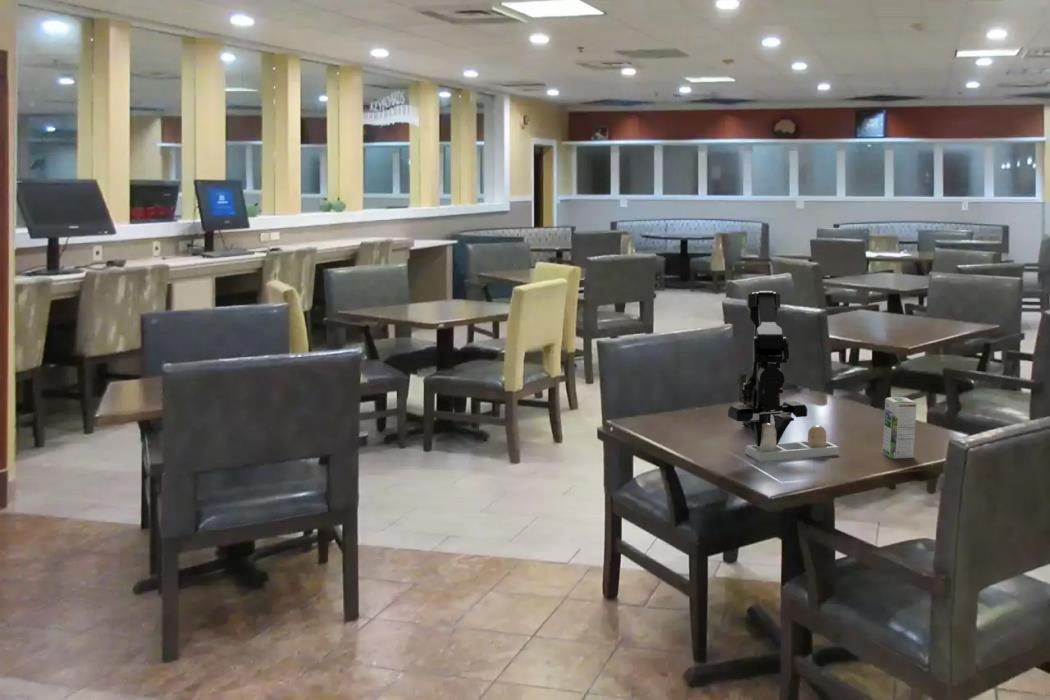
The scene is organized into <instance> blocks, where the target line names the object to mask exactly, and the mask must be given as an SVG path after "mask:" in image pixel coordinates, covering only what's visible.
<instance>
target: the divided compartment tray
mask: <svg viewBox="0 0 1050 700" xmlns="http://www.w3.org/2000/svg"><path fill="white" fill-rule="evenodd" d="M839 449H840V448H839V446H838V445H836V444H834V443H831V442H829V441H827V440H826V447H819V448H811V447H809V446H808V440H800V441H797V440H796V441H787V442H779V443H778V444H777V445H776V451H770V452H760V451H758V446H757V445H756V444H751V445H750V444H749V445H746V446H745V454H746V455H747V456H749V457H751V458H753V459H754V460H756V461H758V462H769V461H781V460H793V459H794V460H795V459H804V458H816V457H828V456H831V457H832V456H838V455H839Z"/></svg>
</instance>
